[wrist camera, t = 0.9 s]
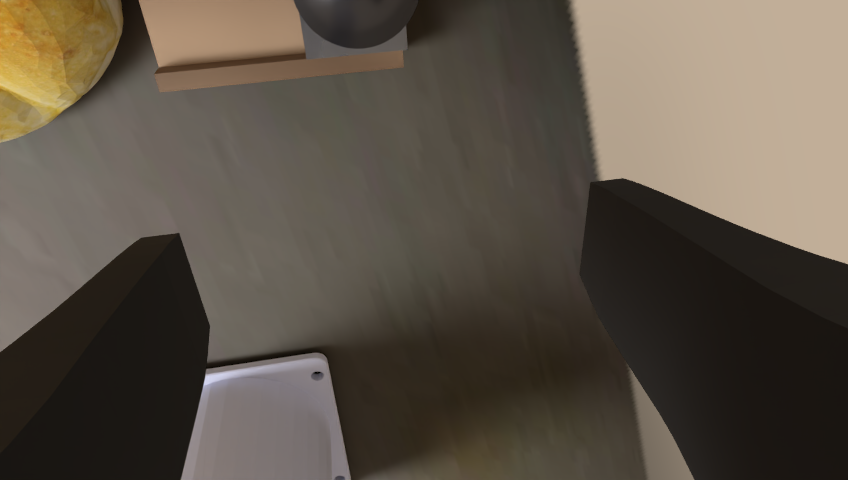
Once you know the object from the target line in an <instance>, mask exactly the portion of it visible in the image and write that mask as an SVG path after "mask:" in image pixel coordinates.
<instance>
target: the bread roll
mask: <svg viewBox="0 0 848 480" xmlns="http://www.w3.org/2000/svg"><path fill="white" fill-rule="evenodd" d="M122 28H123V14H122V3H121V0H0V143H1V142H4V141H8V140H12V139H15V138H18V137H20V136H23V135H25V134H28V133H30V132H32V131H35V130H37V129H39V128H41V127H43V126H45V125H46V124H48V123H50V122H51V121H52V120H54V119H55V118H56V117H57V116H58V115H59V114H60V113H62V112H63V111H64V110H65V109H67V108H68V107H70V106H71V105H72V104H74V103H75V102H77V101H78V100H79V99H80V98H81V97H82V95H84V94H85V93H87V92H88V91H89V90H90V89H91V88H92V87H93V86H94V85H95V84H96V83H97V82H98V80H99V79H100V78H101V76H102V75H103V73H104V72H105V70H106V68H107V67H108V65H109V64H110V62H111V60H112V58H113V56H114V52H115V50H116V47H117V45H118V42H119V39H120V37H121V34H122Z"/></svg>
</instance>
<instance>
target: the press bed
mask: <svg viewBox="0 0 848 480" xmlns="http://www.w3.org/2000/svg"><path fill="white" fill-rule="evenodd" d="M139 3H140V6H141V10H142V13H143V16H144V20H145V23H146V26H147V30H148V33H149V36H150V40H151V43H152V46H153V49H154V53H155V56H156V59H157V63H158V66H159V68H158V70H157V71H156V72H155V74H154V75H155V78H156V82H157V85H158V88H159V91H160V92H168V91H178V90H187V89H197V88H207V87H217V86H226V85H236V84H246V83H256V82H265V81H275V80H285V79H295V78H304V77H314V76H324V75H334V74H343V73H353V72H363V71H373V70H382V69H392V68H402V67H404V63H403V50H400V51H390V52H380V53H370V54H360V55H350V56H340V57H330V58H319V59H309V60H307V59H306V53H305V46H304V40H303V34H302V28H301V22H300V16H299V12H298V10H297V8H296V6H295V3H294V0H139Z"/></svg>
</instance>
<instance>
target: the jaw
mask: <svg viewBox="0 0 848 480" xmlns="http://www.w3.org/2000/svg"><path fill="white" fill-rule="evenodd" d="M294 3H295V6H296V8H297V10H298V12H299V16H300V22H301V28H302V34H303V40H304V46H305V53H306V59H307V60H309V59H319V58H330V57H340V56H350V55H360V54H370V53H380V52H390V51H400V50H408V47H407V33H406V25H407V23H408V22H409V20H410V19H411V17H412V15H413V13H414V12H415V9H416V7H417V4H418V0H294Z"/></svg>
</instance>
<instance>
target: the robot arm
mask: <svg viewBox="0 0 848 480" xmlns="http://www.w3.org/2000/svg"><path fill="white" fill-rule="evenodd" d="M580 276H581V279H582V281H583V283H584V286H585V288H586V290H587V293H588V295H589V298H590V300H591V302H592V304H593V306H594V308H595V310H596V313H597V315H598V317H599V319H600V320H601V322H602V324H603V325H604V327H605V329H606V330H607V332H608V334H609V335H610V337H611V338H612V340H613V342H614V343H615V345H616V346H617V348H618V349H619V351H620V353H621V354H622V356H623V357H624V359H625V360H626V362H627V364H628V365H629V367H630V368H631V370H632V371H633V373H634V375H635V376H636V378H637V379H638V381H639V382H640V384H641V385H642V387H643V389H644V390H645V392H646V393H647V395H648V396H649V398H650V399H651V401H652V403H653V404H654V406H655V407H656V409H657V410H658V412H659V413H660V415H661V417H662V418H663V420H664V422H665V424H666V425H667V427H668V429H669V431H670V432H671V434H672V436H673V437H674V439H675V441H676V443H677V445H678V447H679V449H680V451H681V453H682V455H683V457H684V459H685V461H686V464H687V465H688V467H689V469H690V471H691V473H692V475H693V477H694V479H695V480H848V264H845V263H842V262H839V261H835V260H832V259H829V258H825V257H822V256H819V255H816V254H813V253H810V252H807V251H804V250H801V249H798V248H795V247H793V246H790V245H787V244H785V243H782V242H780V241H777V240H774V239H772V238H769V237H766V236H764V235H761V234H758V233H756V232H753V231H751V230H748V229H746V228H743V227H741V226H738V225H736V224H733V223H731V222H729V221H726V220H724V219H721V218H719V217H716V216H714V215H712V214H710V213H708V212H705V211H703V210H700V209H698V208H696V207H693V206H691V205H689V204H686V203H684V202H682V201H680V200H678V199H675V198H673V197H671V196H668V195H666V194H664V193H661V192H659V191H657V190H654V189H652V188H649V187H647V186H644V185H642V184H639V183H636V182H633V181H630V180H627V179H623V178H622V179H614V180H606V181H598V182H590V191H589V199H588V208H587V216H586V224H585V233H584V241H583V249H582V258H581V266H580ZM209 331H210V325H209V322H208V319H207V316H206V313H205V310H204V307H203V304H202V301H201V298H200V295H199V292H198V289H197V286H196V283H195V280H194V277H193V274H192V271H191V268H190V265H189V262H188V259H187V256H186V253H185V249H184V246H183V243H182V240H181V237H180V234H179V233H176V234H168V235H160V236H152V237H144V238H141V239H139V240H138V241H136V242H135V243H133V244H132V245H131V246H129V247H128V248H127V249H126V250H124V251H123V252H122V253H121V254H120V255H118V256H117V257H116V258H115V259H114V260H112V261H111V262H110V263H109V264H108V265H107V266H105V267H104V268H103V269H102V270H101V271H100V272H98V273H97V274H96V275H95V276H94V277H93V278H92V279H90V280H89V281H88V282H87V283H86V284H84V285H83V286H82V287H81V288H80V289H79V290H77V291H76V292H75V293H74V294H73V295H72V296H70V297H69V298H68V299H67V300H66V301H64V302H63V303H62V304H61V305H60V306H59V307H57V308H56V309H55V310H54V311H53V312H51V313H50V314H49V315H47V316H46V317H45V318H44V319H42V320H41V321H40V322H38V323H37V324H36V325H35V326H33V327H32V328H31V329H30V330H28V331H27V332H26V333H24V334H23V335H22V336H21V337H19V338H18V339H17V340H16V341H14V342H13V343H12V344H10V345H9V346H8V347H7V348H5V349H4V350H3V351H1V352H0V480H351V476H350V471H349V466H348V461H347V456H346V451H345V446H344V441H343V436H342V431H341V426H340V421H339V416H338V411H337V406H336V400H335V395H334V390H333V385H332V380H331V375H330V370H329V365H328V360H327V358H326V356H324V355H323V354H321V353H309V354H302V355H296V356H289V357H283V358H276V359H269V360H263V361H256V362H250V363H243V364H237V365H230V366H224V367H217V368H210V369H206V366H207V356H208V344H209ZM314 372H321V373H319V374H314Z"/></svg>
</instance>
